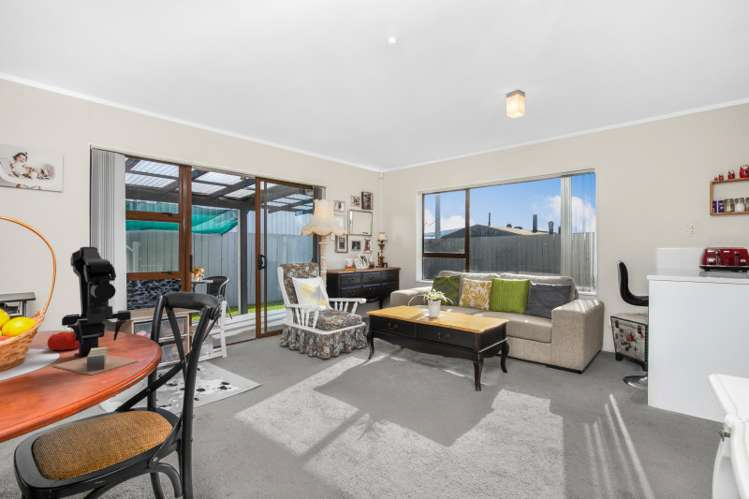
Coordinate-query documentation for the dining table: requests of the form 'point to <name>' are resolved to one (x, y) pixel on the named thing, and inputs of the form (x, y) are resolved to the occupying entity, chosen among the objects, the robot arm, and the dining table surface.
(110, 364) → the rubber mat
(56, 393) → the dining table surface
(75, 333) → the robot arm
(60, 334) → the tomato
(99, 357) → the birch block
